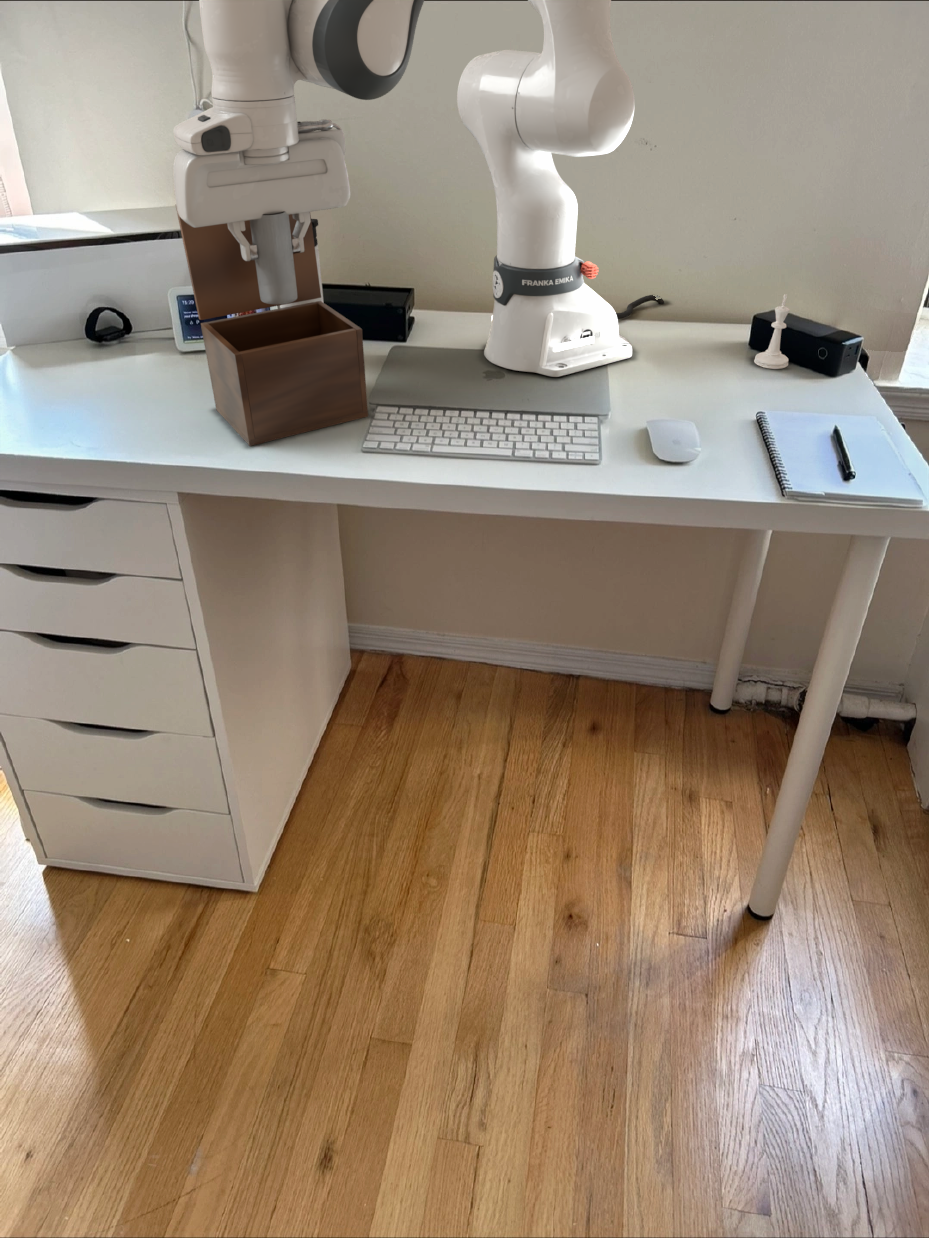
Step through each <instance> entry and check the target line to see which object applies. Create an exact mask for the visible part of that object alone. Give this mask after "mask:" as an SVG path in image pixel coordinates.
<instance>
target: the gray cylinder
mask: <svg viewBox="0 0 929 1238" xmlns="http://www.w3.org/2000/svg"><path fill="white" fill-rule="evenodd" d="M250 226H251V234H252V241H253V243H255V244H256V245H257V250H258V251H257V254H258V259H257V260H255V263H256V271H257V278H258V285H259V293H260V299H261V301H262V302H264V303H267V304H276V305H278V304H287V303H291V302H293V301H295V300H296V299H297V287H296V277H295V268H294V259H293V250H292V241H291V232H290V223H289V215H287V214H286V212H285V211H283V212H280V213H274V214H263V215H262V217H261V218H260V219H254V220H250Z"/></svg>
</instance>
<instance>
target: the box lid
mask: <svg viewBox="0 0 929 1238" xmlns="http://www.w3.org/2000/svg"><path fill="white" fill-rule="evenodd" d="M174 204H175V205H174V206H175V211H176V215H177V219H178V224H179V229H180V233H181V239H182V242H183V243H182V244H183V249H184V253H185V258H186V264H187V268H188V272H189V278H190V282H191V287H192V292H193V297H194V303H195V307H196V311H197V316H198V319H199V320H200V321H204V320H209V319H215V318H221V317H224V316H226V317H227V316H231V315H236V314H241V313H242V314H243V313H247V312H251V311H252V312H253V311H257V310H258V311H259V310H263V309H267V308H273V307H278V306H279V307H280V305H285V304H278V305H276V304H267V303H264V302H262V301H261V299H260V293H259V285H258V278H257V271H256V263H255V260H251V261H245V260H244V259H243V258H242V255H241V248H240V243H238V241H237V240H236V239H235V237H234V236H233V234H232V233H231V232H230V230H229V229H228V225H227V223H226V224H219V225H212V226H204V227H197V228H194V227H192V226H190V225H189V224H187V223H186V222H185V221H183V220H182V219H181V217H180V216H179V214H178V211H177V206H176V203H174ZM311 219H312V216H311V214H310V221H311ZM244 222H245V231H241V233H242V234H243V236H244V237H245V238H246V240H247V241H248V242H249V241H252V234H251V226H250V220H247V221H244ZM296 222H297V220H295V219H293V215H292V214H290V215H289V223H290V232H291V235H292V234H293V231H294V228H295V225H296ZM303 241H304V252H302V253H296V254H293V259H294V268H295V277H296V287H297V299H296V300H295V301H293V302H291V303H295V302H301V301H306V300H311V299H317V298H321V292H320V284H319V276H318V269H317V261H316V253H315V246H314V238H313V230H312V223H311V222H310V224H309V227H308V229H307V231H306V234H305V236H304V237H303ZM252 242H253V241H252ZM287 304H290V303H287Z"/></svg>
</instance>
